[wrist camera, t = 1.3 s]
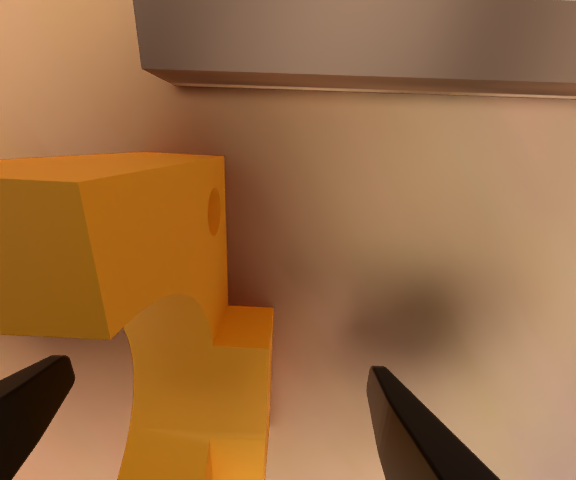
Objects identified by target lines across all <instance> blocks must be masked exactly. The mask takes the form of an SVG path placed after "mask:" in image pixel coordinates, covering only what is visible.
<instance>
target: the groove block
mask: <svg viewBox="0 0 576 480" xmlns="http://www.w3.org/2000/svg"><path fill="white" fill-rule="evenodd" d="M133 5H134V12H135V20H136V28H137V36H138V43H139V51H140V59H141V67H142V69H143V70H145V71H147V72H149V73H151V74H153V75H155V76H157V77H159V78H161V79H163V80H165V81H167V82H169V83H171V84H173V85H175V86H201V87H231V88H262V89H292V90H322V91H352V92H383V93H413V94H443V95H473V96H503V97H534V98H564V99H576V0H133Z"/></svg>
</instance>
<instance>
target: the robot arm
mask: <svg viewBox="0 0 576 480" xmlns="http://www.w3.org/2000/svg"><path fill="white" fill-rule="evenodd" d="M74 381H75V374H74V371H73V368H72V364H71V361H70V358H69V357H68V356H65V355H52V356H49V357H47V358H45V359H43V360H41V361H39V362H37V363H35V364H33V365H31V366H29V367H27V368H25V369H23V370H20V371H18V372H16V373H14V374H12V375H10V376H8V377H6V378H4V379H2V380H0V480H12V479H13V477H14V476H15V474H16V473H17V472H18V470H19V469H20V467H21V466H22V465H23V463H24V462H25V460H26V459H27V458H28V456H29V455H30V453H31V452H32V451H33V449H34V448H35V446H36V445H37V443H38V442H39V440H40V439H41V437H42V436H43V434H44V432H45V431H46V429H47V428H48V426H49V424H50V423H51V421H52V419H53V418H54V416H55V414H56V413H57V411H58V409H59V408H60V406H61V404H62V403H63V401H64V399H65V398H66V396H67V394H68V393H69V391H70V390H71V388H72V386H73V384H74ZM367 397H368V403H369V408H370V413H371V418H372V424H373V429H374V434H375V439H376V444H377V449H378V454H379V458H380V461H381V465H382V468H383V472H384V475H385V479H386V480H500V479H499V478H498V477H497V476H496V475H495V474H494V473H493V472H492V471H491V470H490V469H489V468H488V467H487V466H486V465H485V464H484V463H483V462H482V461H481V460H480V459H479V458H478V457H477V456H476V455H475V454H474V453H473V452H472V451H471V450H470V449H469V448H468V447H467V446H466V445H465V444H464V443H462V442H461V441H460V440H459V439H458V438H457V437H456V436H455V435H454V434H453V433H452V432H451V431H450V430H449V429H448V428H447V427H446V426H445V425H444V424H443V423H442V422H441V421H440V420H439V419H438V418H437V417H436V416H435V415H434V414H433V413H432V412H431V411H430V410H429V409H428V408H427V407H426V406H425V405H424V404H423V403H422V402H421V401H420V400H419V399H418V398H417V397H416V396H415V395H414V394H413V393H412V392H411V391H410V390H409V389H407V388H406V387H405V386H404V385H403V384H402V383H401V382H400V381H399V380H398V379H397V378H396V377H395V376H394V375H393V374H392V373H391V372H390V371H389V370H388V369H387V368H386V367H384V366H372V367H371V368H370V370H369V376H368V382H367Z"/></svg>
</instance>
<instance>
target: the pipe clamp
mask: <svg viewBox="0 0 576 480" xmlns="http://www.w3.org/2000/svg"><path fill="white" fill-rule="evenodd" d="M273 311H274V308H272V307H252V306H231V305H228V274H227V239H226V204H225V169H224V156H215V155H196V154H176V153H157V152H130V153H111V154H93V155H74V156H56V157H37V158H18V159H0V335H21V336H42V337H63V338H84V339H105V340H111V339H112V338H113V337H114V336H115V335H116V334H117V333H118V332H119V331H120V330H121V329H122V328H124V330H125V333H126V335H127V338H128V341H129V345H130V349H131V354H132V360H133V371H134V391H133V405H132V414H131V421H130V427H129V432H128V438H127V443H126V447H125V451H124V456H123V460H122V464H121V467H120V471H119V475H118V478H117V480H265V476H266V463H267V450H268V437H269V422H270V395H271V367H272V339H273Z"/></svg>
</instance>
